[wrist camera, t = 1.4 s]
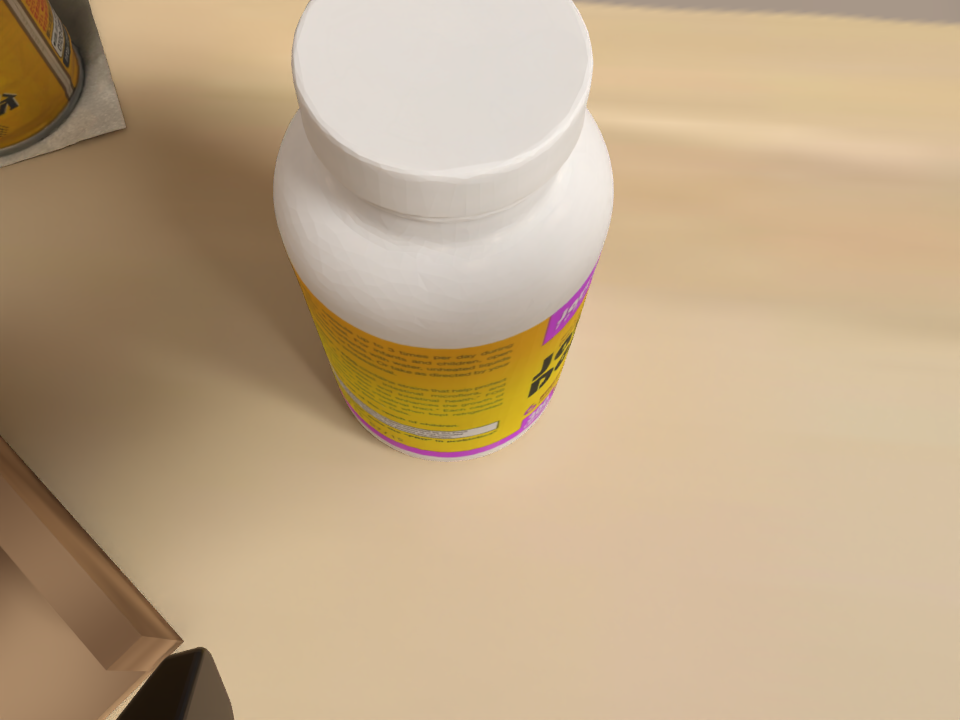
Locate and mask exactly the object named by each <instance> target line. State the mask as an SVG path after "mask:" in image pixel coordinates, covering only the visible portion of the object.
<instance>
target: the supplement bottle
mask: <svg viewBox="0 0 960 720" xmlns="http://www.w3.org/2000/svg"><path fill="white" fill-rule="evenodd" d="M291 66H292V74H293V81H294V86H295V90H296V95H297V99H298V104H299V109H298V111H297V112H296V114H295V115H294V117H293V118H292V120H291V122H290V124H289V126H288V128H287V130H286V132H285V135H284V138H283V140H282V143H281V146H280V149H279V153H278V156H277V160H276V166H275V172H274V182H273V200H274V209H275V215H276V220H277V225H278V228H279V231H280V234H281V237H282V241H283V244H284V247H285V249H286V252H287V255H288V257H289V260H290V262H291V265H292V267H293V270H294V272H295V275H296V277H297V279H298V282H299V284H300V287H301V289H302V292H303V294H304V297H305V300H306V302H307V305H308V308H309V310H310V313H311V316H312V318H313V320H314V323H315V326H316V328H317V331H318V334H319V336H320V339H321V341H322V344H323V347H324V349H325V352H326V354H327V357H328V360H329V363H330V366H331V369H332V371H333V373H334V376H335V379H336V381H337V383H338V386H339V388H340V391H341V393H342V395H343V397H344V399H345V401H346V403H347V405H348V406H349V408H350V410H351V411H352V413H353V414H354V416H355V417H356V418H357V420H358V421H359V422H360V423H361V424H362V425H363V427H364V428H365V429H366V430H368V431H369V432H370V433H371V434H372V435H373V436H375V437H376V438H377V439H378V440H380V441H381V442H383V443H385V444H386V445H388V446H389V447H391V448H393V449H395V450H397V451H399V452H401V453H404V454H406V455H409V456H411V457H415V458H420V459H424V460H431V461H440V462H455V461H464V460H470V459H475V458H479V457H483V456H486V455H489V454H491V453H494V452H496V451H498V450H500V449H502V448H504V447H506V446H508V445H509V444H511V443H512V442H514V441H515V440H517V439H518V438H520V437H521V436H522V435H523V434H524V433H525V432H527V431H528V430H529V429H530V428H531V427H532V426H533V425H534V424H535V422H536V421H537V420H538V419H539V417H540V416H541V415H542V413H543V412H544V410H545V408H546V407H547V405H548V403H549V401H550V399H551V397H552V395H553V393H554V390H555V388H556V385H557V383H558V380H559V377H560V374H561V371H562V368H563V365H564V362H565V359H566V356H567V354H568V350H569V348H570V345H571V342H572V340H573V336H574V333H575V329H576V326H577V324H578V321H579V318H580V315H581V312H582V308H583V305H584V302H585V299H586V296H587V293H588V290H589V286H590V283H591V280H592V277H593V274H594V271H595V268H596V266H597V263H598V260H599V257H600V254H601V251H602V248H603V245H604V242H605V239H606V236H607V232H608V229H609V225H610V221H611V215H612V209H613V195H614V188H613V173H612V167H611V162H610V157H609V153H608V150H607V147H606V144H605V142H604V139H603V137H602V134H601V132H600V130H599V128H598V126H597V124H596V122H595V120H594V118H593V117H592V115H591V113H590V112H589V111H588V109H587V108H586V105H587V100H588V96H589V91H590V87H591V80H592V71H593V55H592V47H591V43H590V38H589V33H588V30H587V28H586V25H585V23H584V21H583V19H582V16H581V14H580V13H579V11H578V9H577V7H576V6H575V5H574V3H573V2H572V0H310V2H309V3H308V4H307V6H306V8H305V10H304V12H303V14H302V16H301V18H300V20H299V22H298V25H297V28H296V30H295V34H294V41H293V47H292V61H291Z"/></svg>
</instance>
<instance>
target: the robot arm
mask: <svg viewBox="0 0 960 720" xmlns="http://www.w3.org/2000/svg"><path fill="white" fill-rule="evenodd" d="M116 720H234V716H233V710H232V706H231V702H230V699H229V697H228V694H227V692H226V689H225V687H224V684H223V682H222V680H221V677H220V675H219V672H218V670H217V667H216V665H215V662H214V660H213V657H212V655H211V654H210V652H209V651H208V650H207V649H206V648H203V647H197V648H194V649H190V650H186V651H183V652H179V653H175V654H172V655H169V656H167V657H166V658H165V659H164V660H163V661H162V662H161V663H160V664H159V665H158V667H157V668H156V669H155V671H154V672H153V673H152V674H151V676H150V677H149V678H148V679H147V681H146V682H145V683H144V685H143V686H142V687H141V688H140V690H139V691H138V692H137V694H136V695H135V696H134V697H133V699H132V700H131V701H130V703H129V704H128V705H127V706H126V708H125V709H124V710H123V711H122V713H121V714H120V715H119V717H118V718H117V719H116Z"/></svg>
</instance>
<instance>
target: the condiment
mask: <svg viewBox="0 0 960 720" xmlns="http://www.w3.org/2000/svg"><path fill="white" fill-rule="evenodd" d="M123 128H126V125H125V121H124V118H123V114H122V111H121V107H120V104H119V101H118V97H117V93H116V90H115V86H114V83H113V81H112V78H111V73H110V70H109V66H108V63H107V59H106V57H105V54H104V50H103V46H102V43H101V40H100V37H99V34H98V30H97V27H96V25H95V22H94V19H93V16H92V13H91V8H90V4H89V1H88V0H0V167H3V166H6V165H10V164H13V163H16V162H19V161H21V160H25V159H28V158H32V157H35V156H37V155H41V154H45V153H48V152H51V151H54V150H58V149H61V148H64V147H66V146H68V145H72V144H75V143H77V142H78V141H80V140H84V139H89V138H92V137H95V136H98V135H101V134H105V133H108V132H112V131H115V130H119V129H123Z"/></svg>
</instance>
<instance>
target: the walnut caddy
mask: <svg viewBox="0 0 960 720" xmlns="http://www.w3.org/2000/svg"><path fill="white" fill-rule="evenodd" d="M183 642H184V641H183V640H182V639H181V638H180V637H179V635H178V634H177V633H176V632H175V631H174V630H173V629H172V628H171V626H170V625H169V624H168V623H167V622H166V621H165V620H164V619H163V617H162V616H161V615H160V614H159V613H158V612H157V611H156V610H155V609H154V607H153V606H152V605H151V604H150V603H149V602H148V601H147V600H146V598H145V597H144V596H143V595H142V594H141V593H140V592H139V591H138V589H137V588H136V587H135V586H134V585H133V584H132V583H131V582H130V580H129V579H128V578H127V577H126V576H125V575H124V574H123V573H122V572H121V570H120V569H119V568H118V567H117V566H116V565H115V564H114V563H113V561H112V560H111V559H110V558H109V557H108V556H107V555H106V554H105V552H104V551H103V550H102V549H101V548H100V547H99V546H98V545H97V543H96V542H95V541H94V540H93V539H92V538H91V537H90V536H89V534H88V533H87V532H86V531H85V530H84V529H83V528H82V527H81V526H80V524H79V523H78V522H77V521H76V520H75V519H74V518H73V517H72V515H71V514H70V513H69V512H68V511H67V510H66V509H65V508H64V506H63V505H62V504H61V503H60V502H59V501H58V500H57V499H56V497H55V496H54V495H53V494H52V493H51V492H50V491H49V490H48V488H47V487H46V486H45V485H44V484H43V483H42V482H41V481H40V480H39V478H38V477H37V476H36V475H35V474H34V473H33V472H32V471H31V469H30V468H29V467H28V466H27V465H26V464H25V463H24V462H23V460H22V459H21V458H20V457H19V456H18V455H17V454H16V453H15V451H14V450H13V449H12V448H11V447H10V446H9V445H8V444H7V442H6V441H5V440H4V439H3V438H2V437H1V436H0V720H104V719H105V718H106V717H107V716H108V715H109V714H110V713H111V712H112V711H113V710H115V709H116V708H117V707H118V706H119V705H120V704H121V703H122V702H123V701H124V700H125V699H126V698H127V697H128V696H129V695H130V694H131V693H132V692H133V691H134V690H135V689H136V688H137V687H138V686H139V685H140V684H141V683H142V682H143V681H144V680H145V679H146V678H147V677H148V676H149V675H150V674H151V673H152V672H153V671H154V670H155V669H156V668H157V667H158V665H159V664H160V663H161V662H162V661H163V660H164V659H165V658H166V657H167V656H169V655H171V654H172V653H173V652H174V651H175V650H176V649H177V648H178V647H179V646H180V645H181V644H182V643H183Z"/></svg>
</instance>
